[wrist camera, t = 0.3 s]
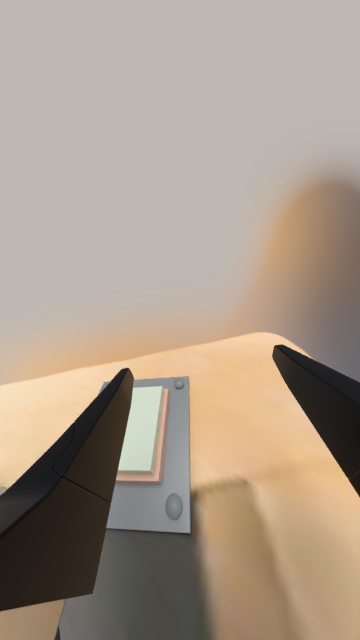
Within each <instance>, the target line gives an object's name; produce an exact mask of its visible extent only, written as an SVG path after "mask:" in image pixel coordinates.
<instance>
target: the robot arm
mask: <svg viewBox="0 0 360 640" xmlns="http://www.w3.org/2000/svg"><path fill="white" fill-rule="evenodd" d="M272 357H273V360H274V362H275V364H276V366H277V368H278V370H279V371H280V373H281V375H282V377H283V379H284V381H285V383H286V384H287V386H288V388H289V389H290V391H291V392H292V394H293V395H294V397H295V398H296V400H297V401H298V403H299V404H300V406H301V408H302V409H303V411H304V412H305V414H306V415H307V417H308V418H309V420H310V421H311V423H312V424H313V426H314V427H315V429H316V431H317V432H318V434H319V435H320V437H321V438H322V440H323V441H324V443H325V444H326V446H327V447H328V449H329V450H330V452H331V454H332V455H333V457H334V458H335V460H336V461H337V463H338V464H339V466H340V467H341V469H342V470H343V472H344V473H345V475H346V477H347V478H349V479H348V480H349V481H350V483H351V484H352V486H353V487H354V489H355V491H356V492H357V494H358V495H359V497H360V382H358V381H356V380H354V379H351V378H349V377H347V376H345V375H343V374H341V373H339V372H337V371H335V370H333V369H331V368H329V367H327V366H325V365H323V364H321V363H319V362H317V361H315V360H313V359H311V358H309V357H307V356H305V355H303V354H301V353H299V352H297V351H295V350H293V349H291V348H289V347H287V346H285V345H275V346H274V350H273V355H272ZM133 381H134V377H133V375H132V373H131V371H130V369H129V368H124V369H121V370H120V372H119V373H118V374H117V375H116V376H115V377H114V378H113V379H112V380H111V382H110V383H109V384H108V385H107V386H106V387H105V388H104V389H103V390H102V392H101V393H100V394H99V395H98V396H97V397H96V398H95V399H94V400H93V402H92V403H91V404H90V405H89V406H88V407H87V408H86V409H85V410H84V412H83V413H82V414H81V415H80V416H79V417H78V418H77V419H76V420H75V423H73V424H72V425H71V426H70V427H69V428H68V429H67V430H66V431H65V432H64V434H63V435H62V436H61V437H60V438H59V439H58V440H57V441H56V442H55V443H54V444H53V445H52V446H51V447H50V448H49V449H48V450H47V451H46V452H45V453H44V454H43V455H42V456H41V457H40V458H39V459H38V460H37V461H36V462H35V463H34V464H33V465H32V466H31V467H30V468H29V469H28V470H27V471H26V472H25V473H24V474H23V475H22V476H21V477H20V478H19V479H18V480H17V481H16V482H15V483H14V484H13V485H12V486H11V487H10V488H8V489H7V490H6V491H5V492H4V493H3V494H1V495H0V640H60V632H59V623H60V620H61V616H62V613H63V609H64V606H65V602H66V599H68V598H73V597H78V596H83V595H88V594H92V593H93V590H94V585H95V581H96V576H97V571H98V566H99V561H100V556H101V551H102V546H103V541H104V537H105V532H106V527H107V522H108V517H109V512H110V507H111V502H112V497H113V492H114V487H115V482H116V477H117V472H118V467H119V462H120V457H121V452H122V447H123V443H124V438H125V433H126V428H127V423H128V418H129V413H130V408H131V402H132V392H133Z"/></svg>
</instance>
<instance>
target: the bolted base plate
mask: <svg viewBox="0 0 360 640" xmlns="http://www.w3.org/2000/svg"><path fill="white" fill-rule="evenodd" d="M109 383H110V382H104V384H103V386H102V388H101V390H100V392H99V394H100V393H101V392H102V390H103V389H104V388H105V387H106V386H107V385H108V384H109ZM99 394H98V395H99ZM106 528H114V529H130V530H146V531H162V532H178V533H191V494H190V421H189V377H188V376H186V377H172V378H157V379H142V380H134V381H133V392H132V402H131V408H130V413H129V418H128V423H127V428H126V433H125V438H124V443H123V447H122V452H121V457H120V462H119V467H118V472H117V477H116V482H115V487H114V492H113V497H112V502H111V507H110V512H109V517H108V522H107V527H106Z"/></svg>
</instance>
